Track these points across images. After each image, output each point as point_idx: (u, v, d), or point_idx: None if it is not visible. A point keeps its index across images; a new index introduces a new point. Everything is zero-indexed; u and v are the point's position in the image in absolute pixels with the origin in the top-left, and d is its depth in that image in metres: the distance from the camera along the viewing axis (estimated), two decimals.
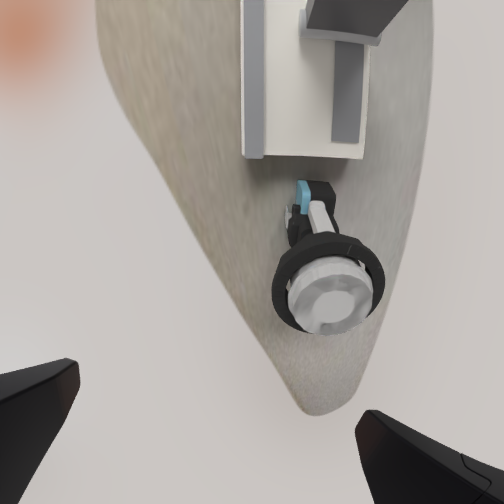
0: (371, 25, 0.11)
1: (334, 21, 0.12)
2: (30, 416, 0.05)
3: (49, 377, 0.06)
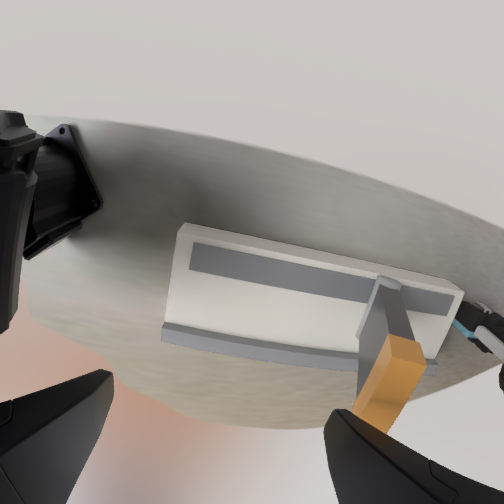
0: None
1: None
2: (72, 433, 0.05)
3: (89, 391, 0.06)
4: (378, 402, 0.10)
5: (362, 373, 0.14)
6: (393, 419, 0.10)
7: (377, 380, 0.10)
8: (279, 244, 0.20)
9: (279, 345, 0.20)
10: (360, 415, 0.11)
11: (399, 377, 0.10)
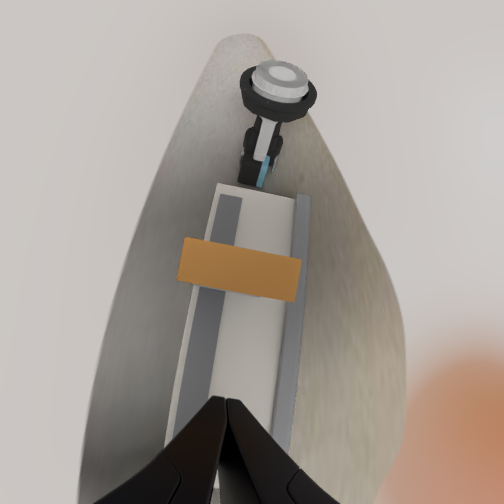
0: None
1: None
2: None
3: (224, 423, 0.07)
4: (240, 280, 0.10)
5: None
6: (264, 255, 0.10)
7: (215, 287, 0.10)
8: None
9: (278, 376, 0.18)
10: (264, 296, 0.10)
11: (202, 264, 0.10)
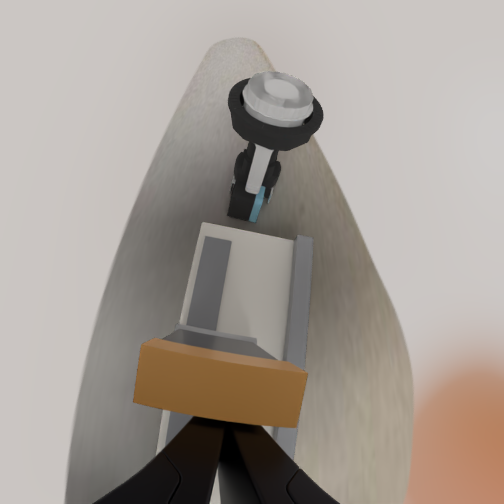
0: (191, 333, 0.14)
1: (230, 340, 0.14)
2: None
3: (224, 423, 0.07)
4: (221, 405, 0.07)
5: None
6: (255, 370, 0.07)
7: None
8: None
9: None
10: (255, 423, 0.07)
11: (166, 384, 0.07)
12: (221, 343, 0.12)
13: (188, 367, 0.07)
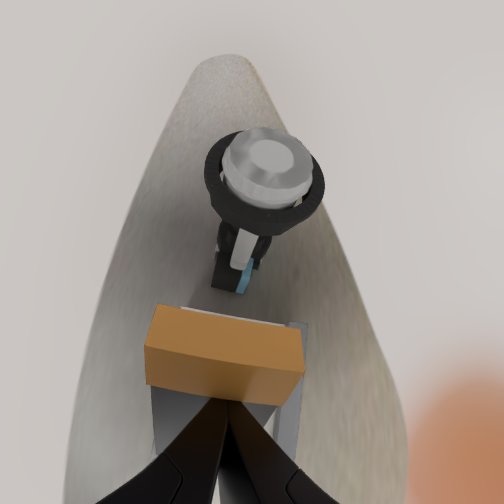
0: None
1: None
2: None
3: (225, 423, 0.07)
4: (230, 349, 0.07)
5: None
6: (256, 325, 0.08)
7: (195, 363, 0.07)
8: None
9: None
10: (264, 368, 0.07)
11: (178, 331, 0.08)
12: None
13: (198, 319, 0.08)
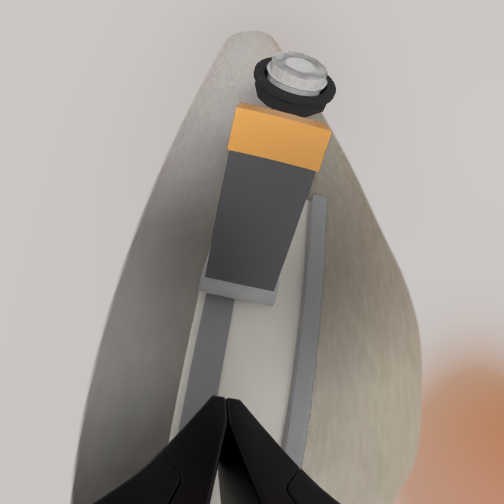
0: None
1: None
2: None
3: (224, 423, 0.07)
4: (286, 117, 0.12)
5: (290, 201, 0.14)
6: (299, 116, 0.13)
7: (266, 120, 0.12)
8: None
9: (291, 392, 0.16)
10: (308, 125, 0.12)
11: (255, 108, 0.12)
12: None
13: (265, 108, 0.13)
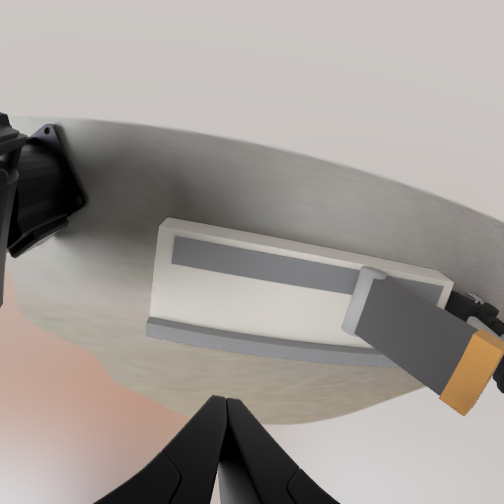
0: None
1: None
2: None
3: (224, 423, 0.07)
4: (484, 384, 0.11)
5: (422, 369, 0.14)
6: None
7: (485, 371, 0.11)
8: (262, 237, 0.20)
9: (264, 338, 0.20)
10: (473, 401, 0.11)
11: (498, 361, 0.11)
12: None
13: None
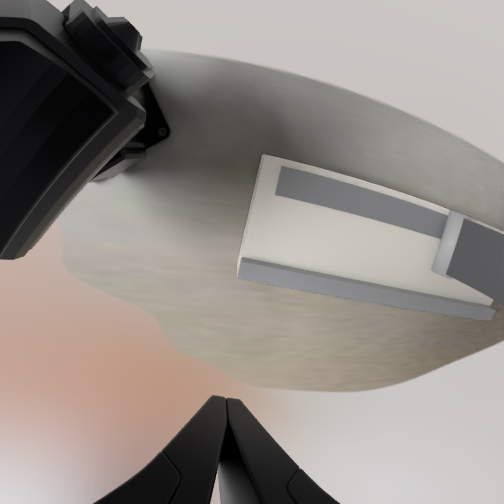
0: None
1: None
2: None
3: (224, 423, 0.07)
4: None
5: None
6: None
7: None
8: None
9: (360, 282, 0.19)
10: None
11: None
12: None
13: None
